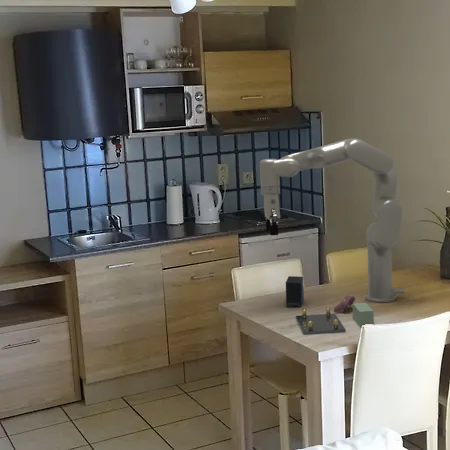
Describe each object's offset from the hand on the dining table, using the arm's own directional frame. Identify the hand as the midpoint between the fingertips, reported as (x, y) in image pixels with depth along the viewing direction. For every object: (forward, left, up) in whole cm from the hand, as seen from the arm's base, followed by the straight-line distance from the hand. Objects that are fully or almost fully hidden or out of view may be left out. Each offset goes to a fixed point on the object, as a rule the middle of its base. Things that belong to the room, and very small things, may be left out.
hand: (272, 233), depth 285 cm
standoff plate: (-13, +28, -30) cm, 43 cm away
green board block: (-29, +28, -30) cm, 51 cm away
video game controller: (-26, +11, -30) cm, 42 cm away
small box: (-8, -2, -30) cm, 32 cm away
